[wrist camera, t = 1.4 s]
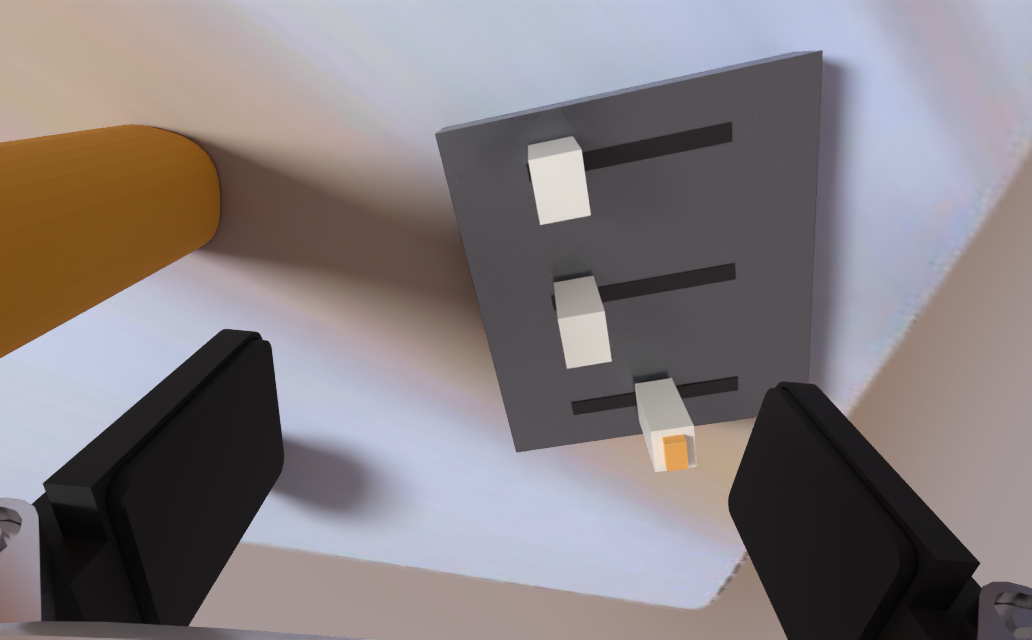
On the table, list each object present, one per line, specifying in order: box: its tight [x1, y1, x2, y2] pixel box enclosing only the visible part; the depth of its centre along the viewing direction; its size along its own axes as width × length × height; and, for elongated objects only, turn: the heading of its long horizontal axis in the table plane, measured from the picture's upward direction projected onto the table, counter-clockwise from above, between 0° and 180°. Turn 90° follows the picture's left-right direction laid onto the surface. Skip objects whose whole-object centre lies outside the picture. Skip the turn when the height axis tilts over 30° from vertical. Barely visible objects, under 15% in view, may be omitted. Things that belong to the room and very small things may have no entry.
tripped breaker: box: [635, 378, 696, 472], centre depth 32 cm, size 2×3×6 cm
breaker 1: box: [528, 136, 591, 225], centre depth 26 cm, size 2×3×5 cm
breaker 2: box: [554, 276, 612, 369], centre depth 30 cm, size 2×3×5 cm
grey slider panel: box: [435, 50, 823, 452], centre depth 33 cm, size 20×22×3 cm
